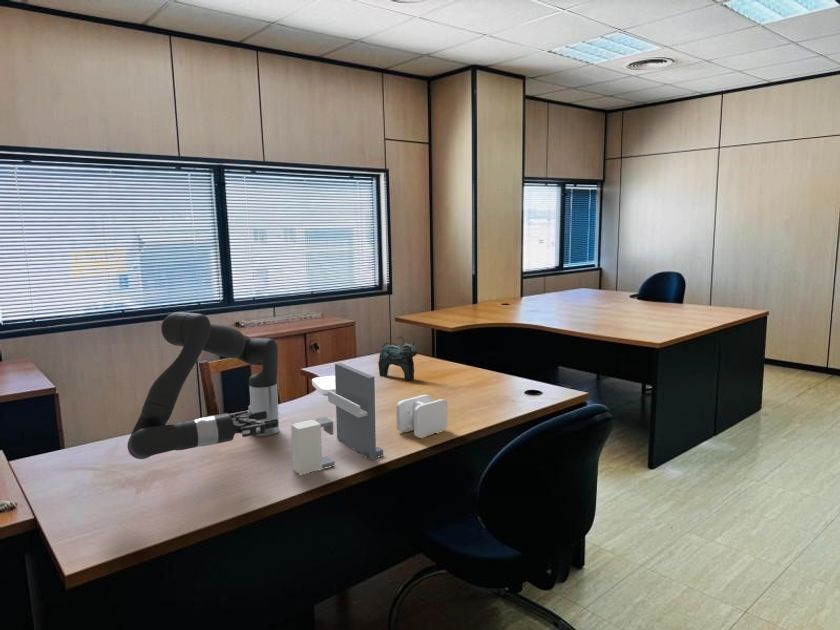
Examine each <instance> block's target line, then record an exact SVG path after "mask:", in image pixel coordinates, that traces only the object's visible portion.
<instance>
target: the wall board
mask: <svg viewBox="0 0 840 630" xmlns="http://www.w3.org/2000/svg"><path fill="white" fill-rule="evenodd" d="M334 375H335V385H336V393H334V392H332V391H328V395H327V399H328V400H327V402H328V403H330V404H333V405H334V406H335V409H336V410H335V413H336V414H335V415H336V418H335V419H336V439H337V438H338V439H339V440H338V439H337V440H338V441H340V440H341V441H342V442H341V441H340V442H341V443H343V442H344V443H346V444H347V445H349V446H350V447H349V446H348V447H349V448H351V447H352V448H354V449H355V450H357V451H358V452H360V453H361V454H363V455H364V456H363V455H362V456H363V457H365V456H366V457H367V458H366V457H365V458H366V459H368V458H369V459H373V458H376V457H377V458H379V457H378V456H381V455H383V456H384V449H383V448H381V447H379V446H377V447H376V445H377V443H376V442H377V441H376V435H377V434H376V392H375V391H376V385H375V382H376V379H375V376H373V375H371V374H370V373H367V372H364V371H361V370H358V369H357V368H355V367H352V366H350V365H346V364H344V363H341V362H338V363H334ZM344 443H343V444H344ZM346 444H345V445H346ZM347 445H346V446H347ZM352 448H351V449H352ZM354 449H353V450H354ZM355 450H354V451H355ZM357 451H356V452H357ZM358 452H357V453H358ZM360 453H359V454H360ZM361 454H360V455H361ZM381 457H382V456H381ZM377 458H376V459H377ZM369 459H368V460H369ZM373 460H374V459H373Z"/></svg>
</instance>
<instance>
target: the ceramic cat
mask: <svg viewBox="0 0 840 630" xmlns="http://www.w3.org/2000/svg"><path fill="white" fill-rule="evenodd" d="M399 338H401V339H402V341H403V342H402V345H400V344H397V343H394V342H385V343H384V344H383V346H382V349H381V351H380V353H379V356H378V357H379V359H378V372H379V376H380V377H383V378H385V377H388V376H389V375H388V374H389V368H390V366H392V365H394V366H397V367H399V368H401V369H402V372H403V375H404V377H403V380H404V381H410V382H411V381H413V380H414V379H415V364H414V357H416V356H417V354H418V348H417V346H416V343H415V342H414V341H412V342H411V343H407V342H406V341H405V340H404V337H403V336H398V337H397V338H396V339H397V340H399ZM387 344H393V345H387Z"/></svg>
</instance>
